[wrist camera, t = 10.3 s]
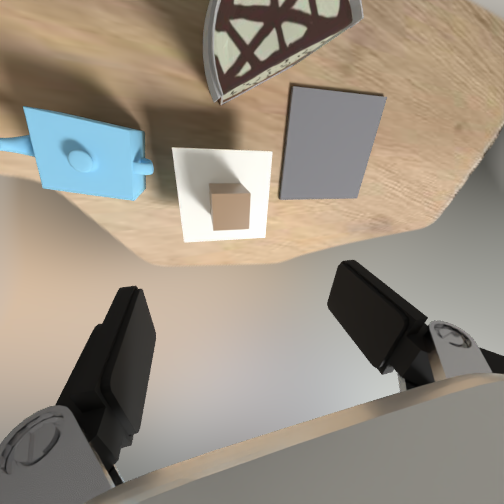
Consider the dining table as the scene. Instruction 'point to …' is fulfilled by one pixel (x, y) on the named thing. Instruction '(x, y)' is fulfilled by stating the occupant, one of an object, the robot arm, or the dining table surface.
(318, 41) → the food container
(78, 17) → the dining table surface
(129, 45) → the dining table surface
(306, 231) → the dining table surface
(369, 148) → the mat
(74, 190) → the teapot
